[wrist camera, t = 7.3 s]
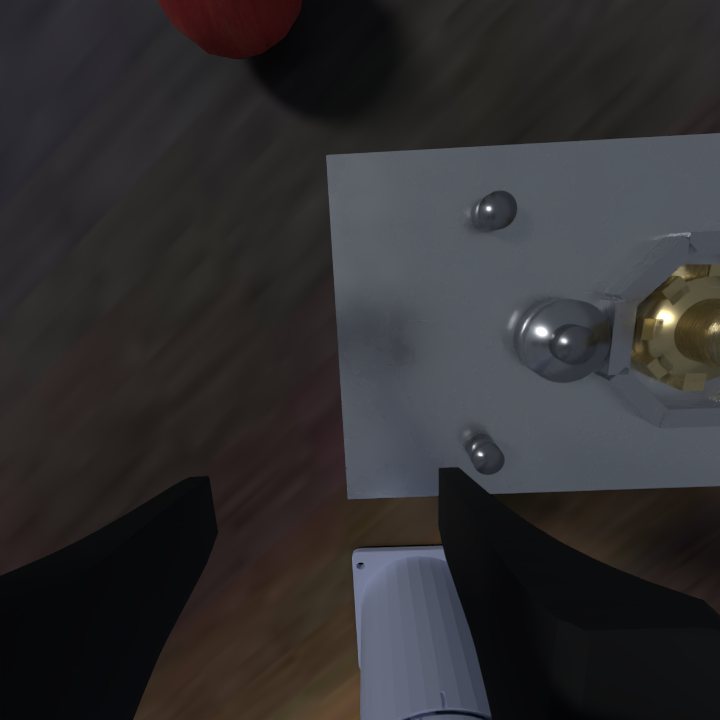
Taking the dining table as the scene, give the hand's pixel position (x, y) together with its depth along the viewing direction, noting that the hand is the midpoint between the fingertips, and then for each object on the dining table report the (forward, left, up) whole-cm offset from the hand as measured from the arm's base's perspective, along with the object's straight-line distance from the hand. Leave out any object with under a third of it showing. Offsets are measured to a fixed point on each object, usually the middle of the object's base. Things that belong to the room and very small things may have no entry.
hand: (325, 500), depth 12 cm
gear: (+3, -18, -9) cm, 20 cm away
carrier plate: (+3, -11, -10) cm, 15 cm away
